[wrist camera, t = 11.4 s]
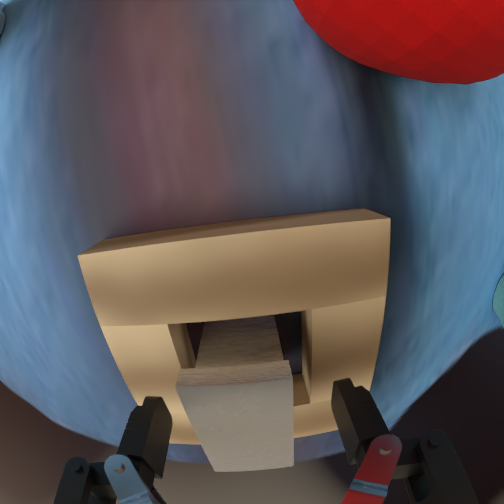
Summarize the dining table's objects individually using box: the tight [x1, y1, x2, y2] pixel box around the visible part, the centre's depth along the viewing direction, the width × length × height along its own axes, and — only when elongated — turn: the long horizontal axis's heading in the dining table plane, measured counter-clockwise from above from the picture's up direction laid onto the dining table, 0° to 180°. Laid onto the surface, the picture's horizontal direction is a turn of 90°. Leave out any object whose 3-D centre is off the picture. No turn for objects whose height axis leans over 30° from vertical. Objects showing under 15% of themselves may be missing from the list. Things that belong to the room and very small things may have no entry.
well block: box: [78, 208, 390, 444], centre depth 15 cm, size 15×15×3 cm
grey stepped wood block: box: [175, 315, 294, 472], centre depth 13 cm, size 7×4×8 cm, turn 6°
